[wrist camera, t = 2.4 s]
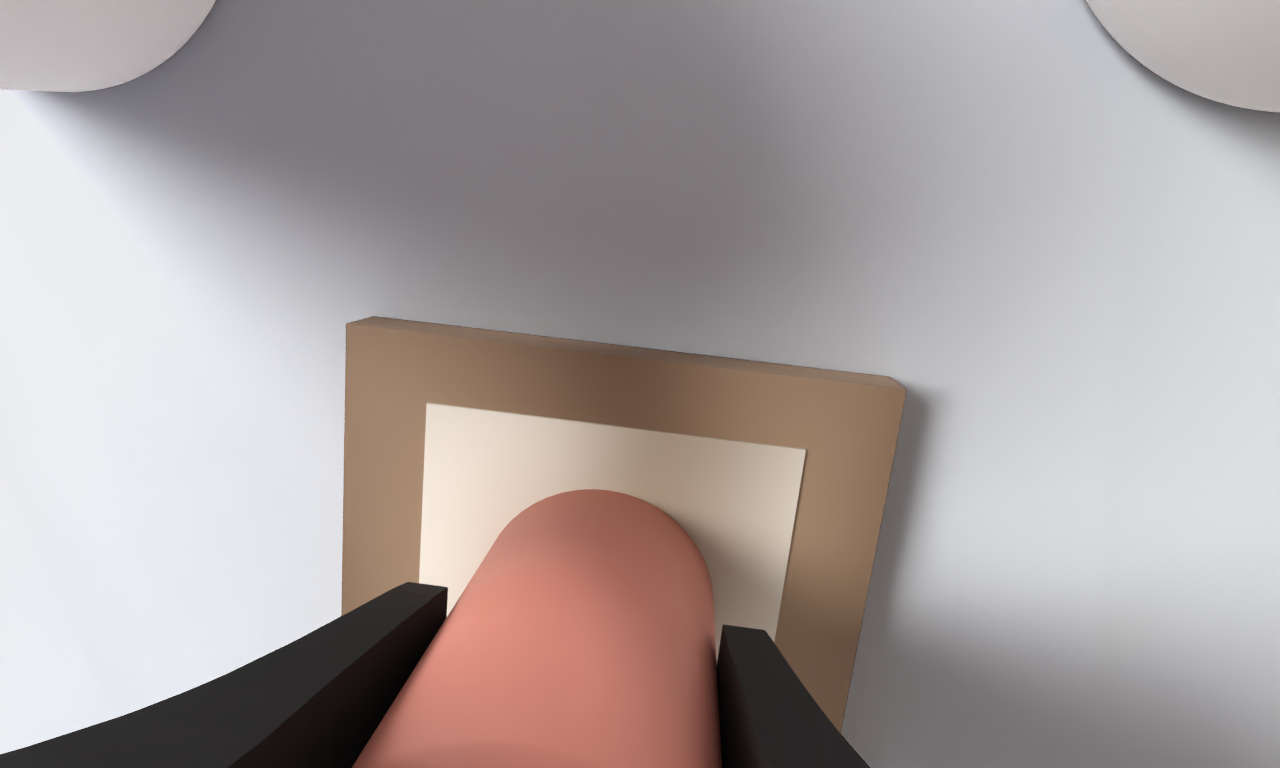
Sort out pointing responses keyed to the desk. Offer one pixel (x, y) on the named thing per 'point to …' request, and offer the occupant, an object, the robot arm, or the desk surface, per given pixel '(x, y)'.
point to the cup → (90, 40)
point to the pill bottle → (1203, 45)
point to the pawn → (568, 650)
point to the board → (622, 469)
